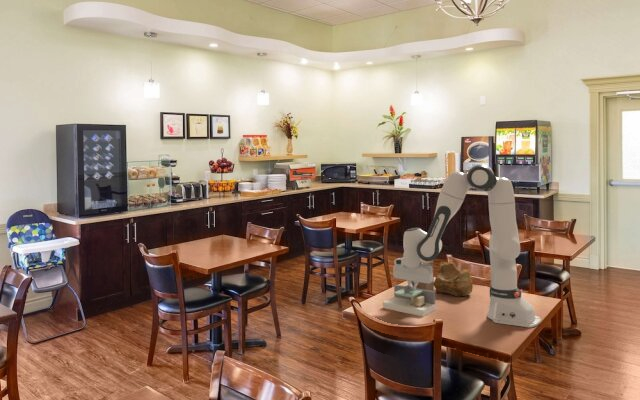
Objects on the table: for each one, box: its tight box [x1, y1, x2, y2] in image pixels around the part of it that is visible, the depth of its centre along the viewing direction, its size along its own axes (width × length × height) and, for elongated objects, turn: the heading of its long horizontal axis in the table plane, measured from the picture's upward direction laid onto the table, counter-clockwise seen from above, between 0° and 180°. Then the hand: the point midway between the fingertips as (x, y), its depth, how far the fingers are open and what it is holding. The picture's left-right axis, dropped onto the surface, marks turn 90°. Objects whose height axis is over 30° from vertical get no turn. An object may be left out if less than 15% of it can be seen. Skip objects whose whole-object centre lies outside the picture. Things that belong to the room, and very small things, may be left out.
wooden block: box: [411, 260, 435, 292], centre depth 254 cm, size 10×10×20 cm
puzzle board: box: [382, 284, 436, 318], centre depth 239 cm, size 22×12×9 cm, turn 50°
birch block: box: [411, 295, 424, 308], centre depth 236 cm, size 4×4×7 cm
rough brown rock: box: [434, 261, 474, 297], centre depth 264 cm, size 23×17×15 cm
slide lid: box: [393, 284, 423, 298], centre depth 238 cm, size 10×10×4 cm
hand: (412, 289), depth 237 cm, fingers closed
